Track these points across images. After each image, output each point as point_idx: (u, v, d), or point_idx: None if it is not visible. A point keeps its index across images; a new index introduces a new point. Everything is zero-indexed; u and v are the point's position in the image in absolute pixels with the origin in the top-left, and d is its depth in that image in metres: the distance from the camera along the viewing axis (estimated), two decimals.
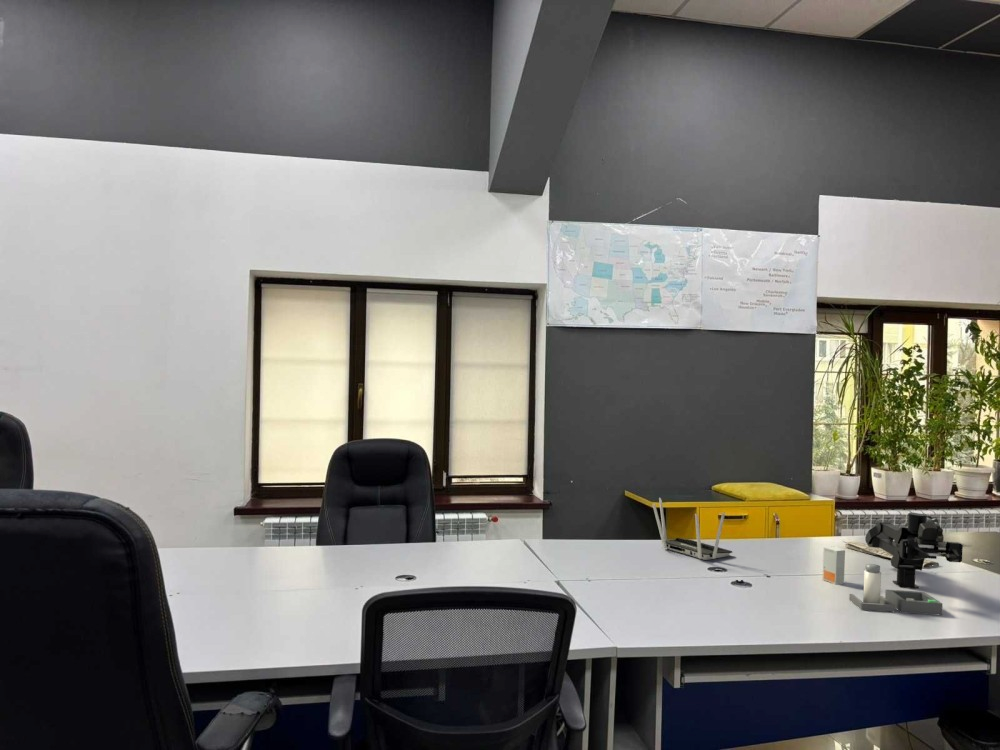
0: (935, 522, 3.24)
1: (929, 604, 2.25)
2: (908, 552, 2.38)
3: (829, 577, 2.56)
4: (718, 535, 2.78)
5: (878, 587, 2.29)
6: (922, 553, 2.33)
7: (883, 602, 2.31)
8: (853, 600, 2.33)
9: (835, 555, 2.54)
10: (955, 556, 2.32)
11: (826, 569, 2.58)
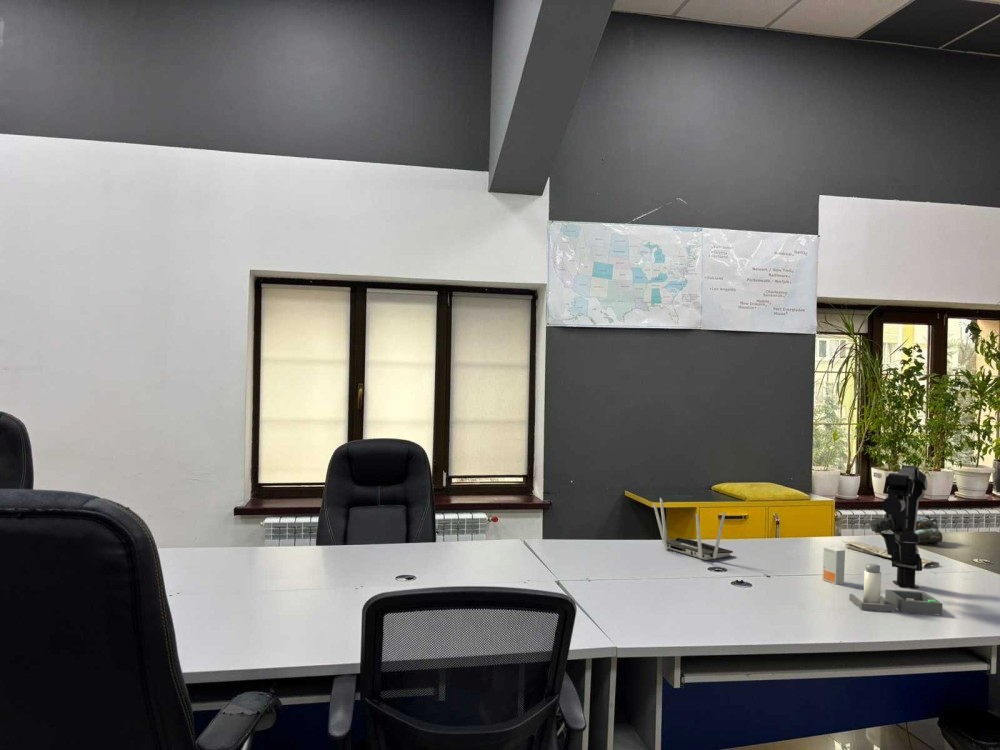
0: (934, 522, 3.24)
1: (929, 604, 2.25)
2: None
3: (829, 577, 2.56)
4: (719, 535, 2.79)
5: (878, 587, 2.29)
6: None
7: (883, 602, 2.31)
8: (853, 600, 2.33)
9: (835, 555, 2.54)
10: None
11: (826, 569, 2.57)
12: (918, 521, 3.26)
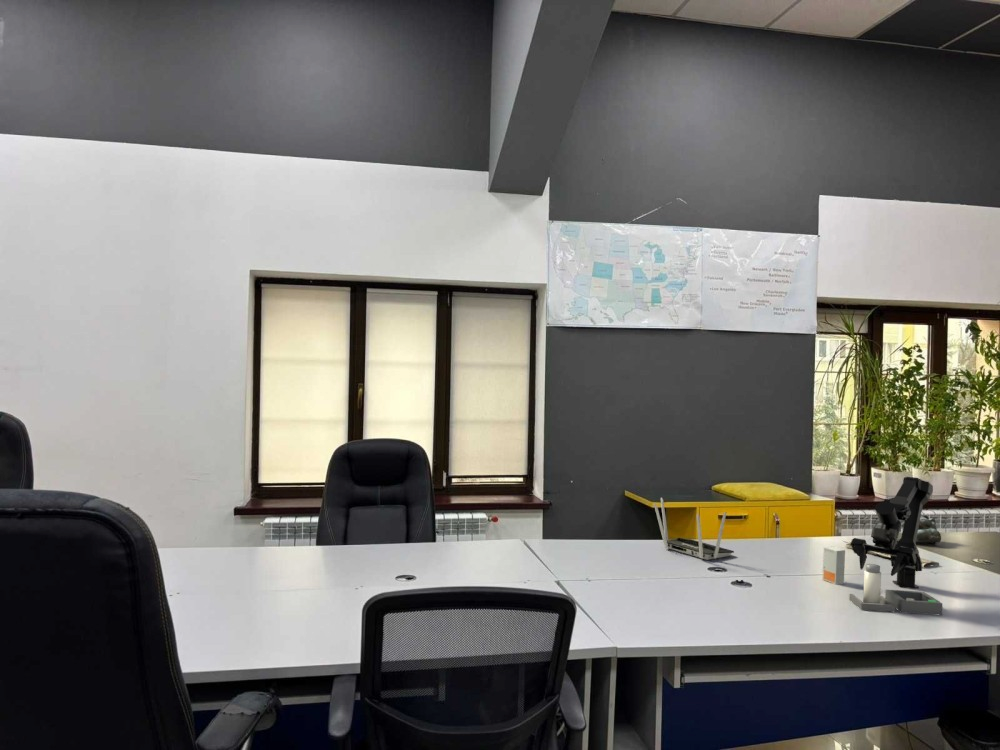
0: (932, 522, 3.24)
1: (929, 604, 2.25)
2: (856, 552, 2.42)
3: (829, 577, 2.56)
4: (719, 535, 2.79)
5: (878, 587, 2.29)
6: None
7: (883, 602, 2.31)
8: (853, 600, 2.33)
9: (835, 555, 2.54)
10: None
11: (826, 569, 2.58)
12: None
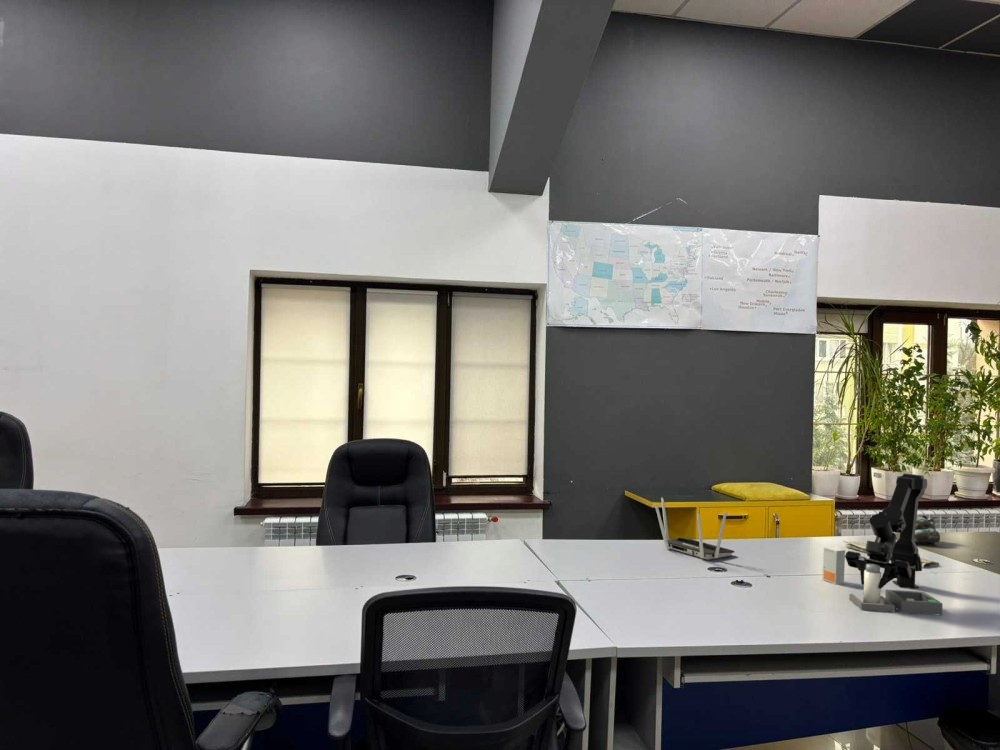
0: (931, 522, 3.24)
1: (929, 604, 2.25)
2: (857, 566, 2.38)
3: (829, 577, 2.56)
4: (720, 535, 2.79)
5: (878, 587, 2.29)
6: (861, 577, 2.33)
7: (883, 602, 2.31)
8: (853, 600, 2.33)
9: (835, 555, 2.54)
10: None
11: (826, 569, 2.58)
12: None
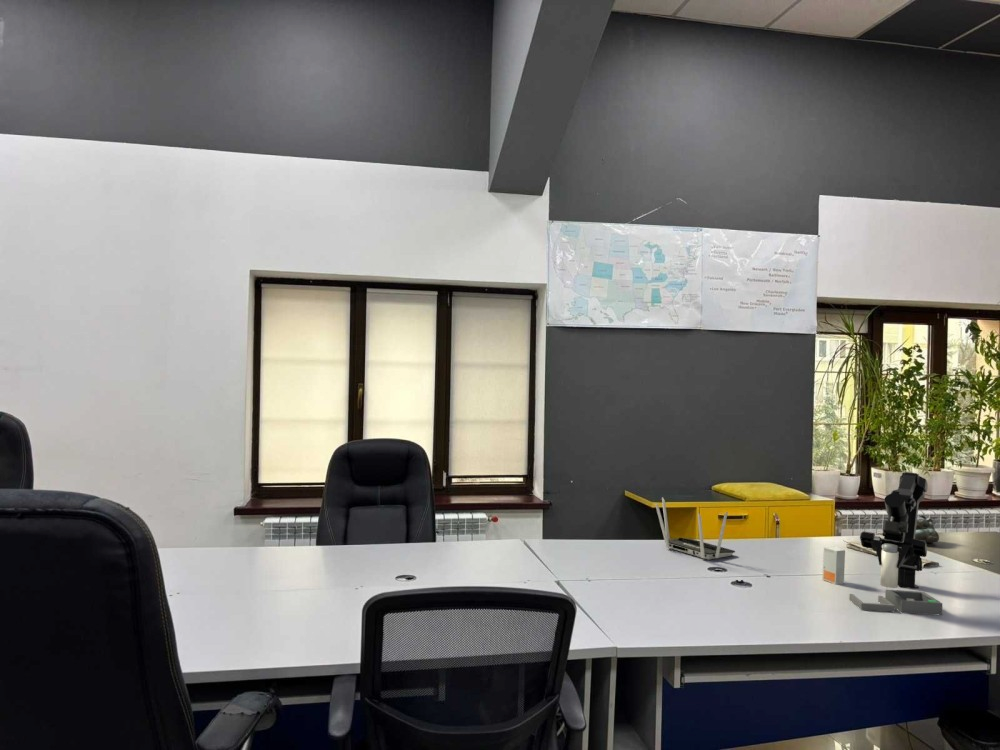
0: (930, 522, 3.24)
1: (929, 604, 2.25)
2: (872, 546, 2.37)
3: (829, 577, 2.56)
4: (721, 535, 2.79)
5: (896, 567, 2.28)
6: (878, 557, 2.32)
7: (883, 602, 2.31)
8: (853, 600, 2.33)
9: (835, 555, 2.54)
10: None
11: (826, 569, 2.58)
12: None
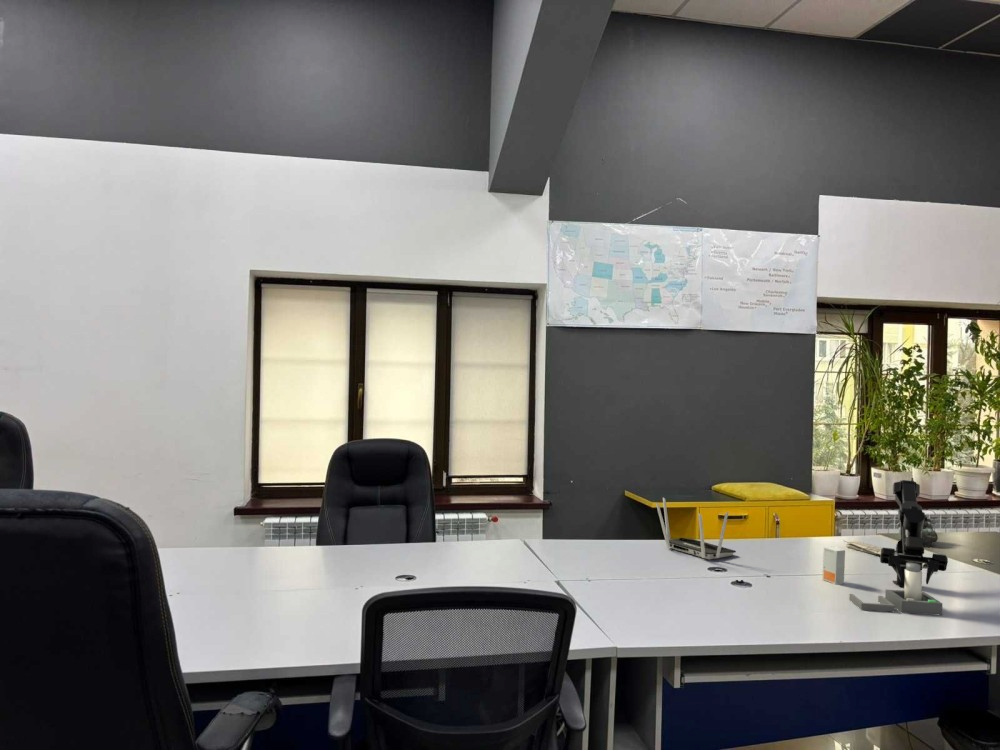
0: (928, 522, 3.24)
1: (929, 604, 2.25)
2: (889, 562, 2.37)
3: (829, 577, 2.56)
4: (721, 535, 2.79)
5: (921, 585, 2.29)
6: (898, 573, 2.32)
7: (883, 602, 2.31)
8: (853, 600, 2.33)
9: (835, 555, 2.54)
10: (926, 578, 2.29)
11: (826, 569, 2.58)
12: None
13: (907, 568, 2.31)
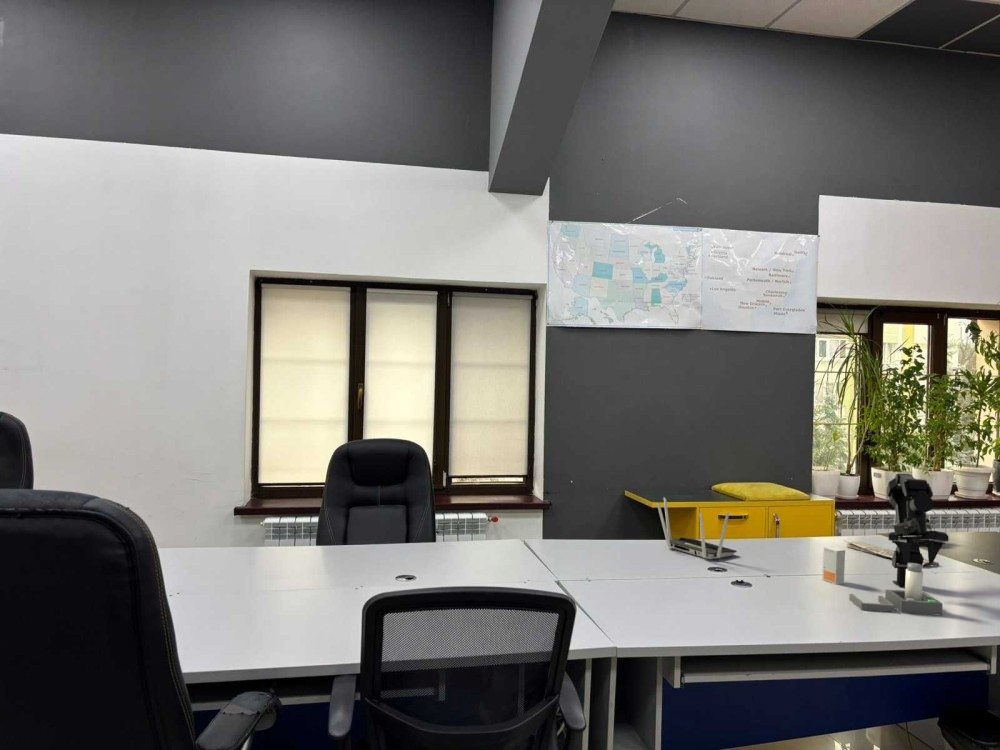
0: None
1: (929, 604, 2.25)
2: None
3: (829, 577, 2.56)
4: (722, 535, 2.79)
5: (922, 586, 2.29)
6: None
7: (883, 602, 2.31)
8: (853, 600, 2.33)
9: (835, 555, 2.54)
10: None
11: (826, 569, 2.58)
12: None
13: (908, 568, 2.30)
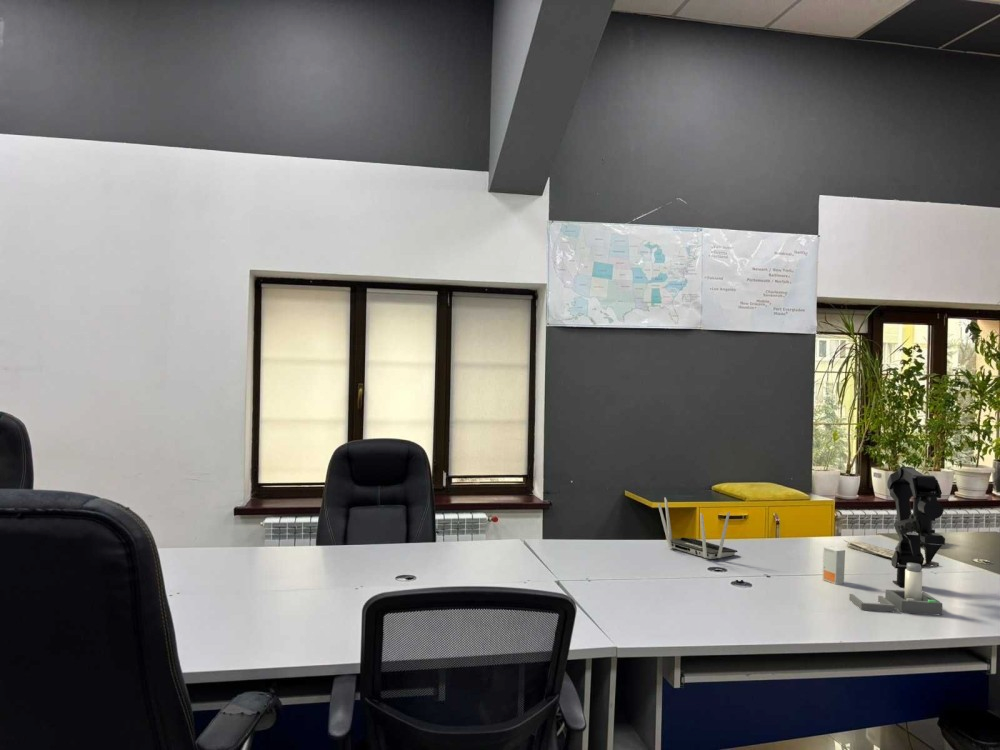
0: None
1: (929, 604, 2.25)
2: None
3: (829, 577, 2.56)
4: (723, 534, 2.80)
5: (921, 586, 2.29)
6: None
7: (883, 602, 2.31)
8: (853, 600, 2.33)
9: (835, 555, 2.54)
10: None
11: (826, 569, 2.58)
12: None
13: (908, 568, 2.31)
